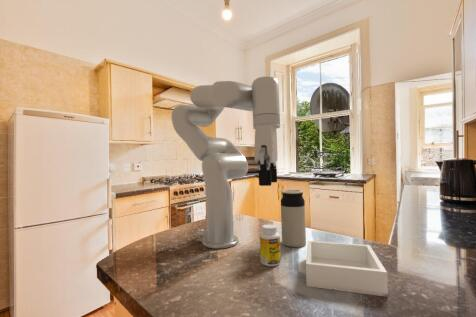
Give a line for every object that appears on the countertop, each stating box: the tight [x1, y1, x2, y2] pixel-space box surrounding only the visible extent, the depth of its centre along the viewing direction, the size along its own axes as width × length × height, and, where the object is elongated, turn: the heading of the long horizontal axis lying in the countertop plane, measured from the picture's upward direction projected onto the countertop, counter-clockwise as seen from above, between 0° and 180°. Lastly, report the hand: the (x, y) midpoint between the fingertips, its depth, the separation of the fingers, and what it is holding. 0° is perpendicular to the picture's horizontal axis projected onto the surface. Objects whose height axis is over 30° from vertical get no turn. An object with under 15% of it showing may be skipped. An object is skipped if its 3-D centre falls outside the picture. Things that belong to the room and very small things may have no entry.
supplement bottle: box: [259, 224, 281, 267], centre depth 66 cm, size 6×6×10 cm
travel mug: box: [280, 189, 307, 248], centre depth 80 cm, size 8×8×18 cm
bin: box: [305, 240, 389, 298], centre depth 58 cm, size 16×16×5 cm
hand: (268, 183), depth 66 cm, fingers open, 9 cm apart
